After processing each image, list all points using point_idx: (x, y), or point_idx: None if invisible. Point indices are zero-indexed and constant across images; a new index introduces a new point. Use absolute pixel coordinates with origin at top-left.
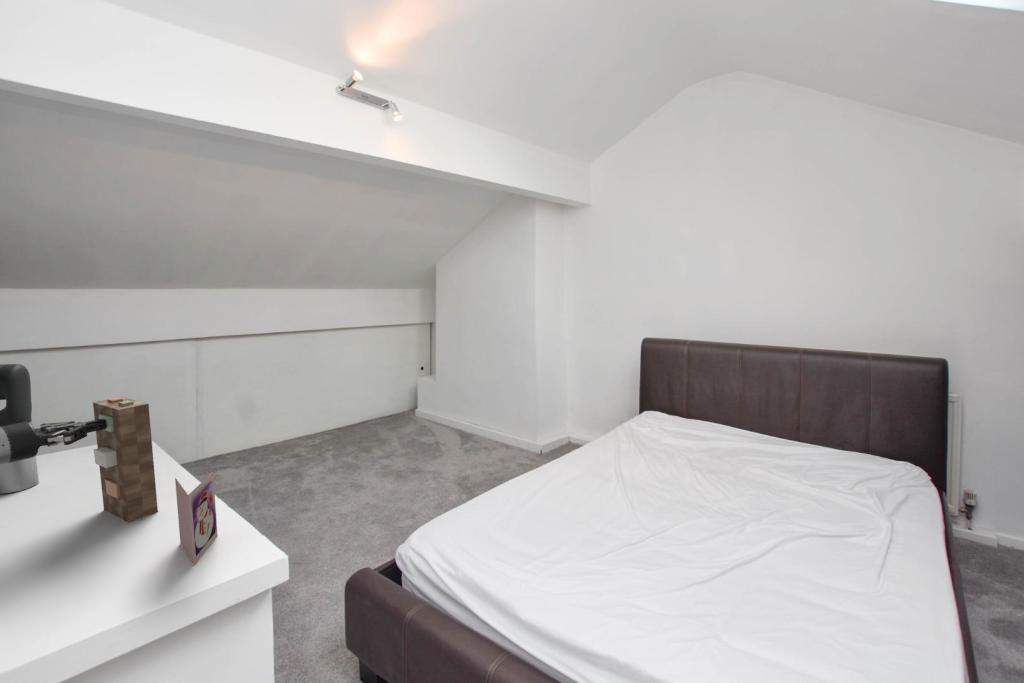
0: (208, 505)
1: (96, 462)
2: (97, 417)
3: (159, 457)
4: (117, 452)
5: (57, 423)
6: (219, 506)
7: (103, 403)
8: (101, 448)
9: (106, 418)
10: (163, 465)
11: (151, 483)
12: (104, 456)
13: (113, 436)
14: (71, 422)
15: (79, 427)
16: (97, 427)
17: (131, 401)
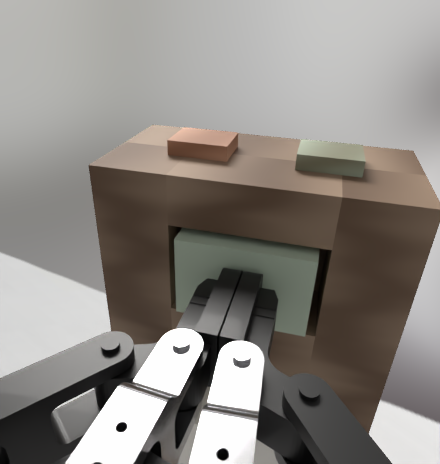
0: None
1: (182, 461)
2: (134, 251)
3: (38, 272)
4: None
5: (14, 394)
6: (434, 423)
7: (176, 167)
8: None
9: (273, 264)
10: (79, 295)
11: None
12: None
13: (299, 349)
14: (114, 351)
15: (342, 430)
16: (272, 337)
17: (343, 143)
